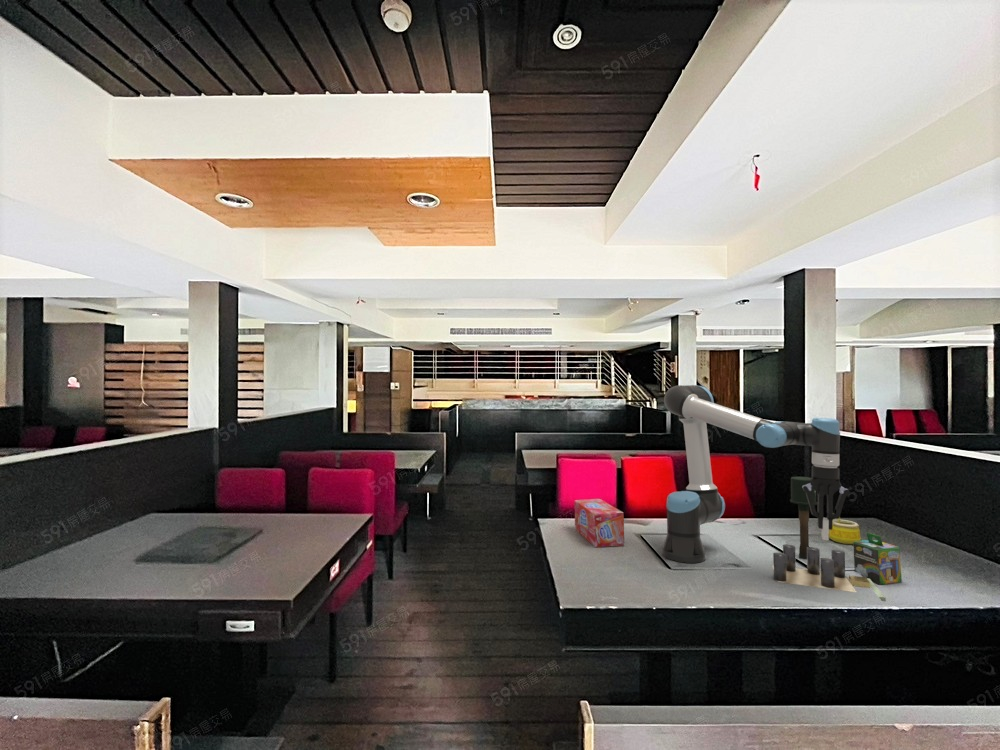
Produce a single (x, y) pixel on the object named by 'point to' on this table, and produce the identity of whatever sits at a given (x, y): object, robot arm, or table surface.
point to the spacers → (810, 564)
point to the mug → (844, 531)
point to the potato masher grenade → (802, 510)
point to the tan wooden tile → (859, 581)
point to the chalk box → (877, 560)
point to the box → (599, 523)
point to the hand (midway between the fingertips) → (824, 538)
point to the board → (815, 581)
